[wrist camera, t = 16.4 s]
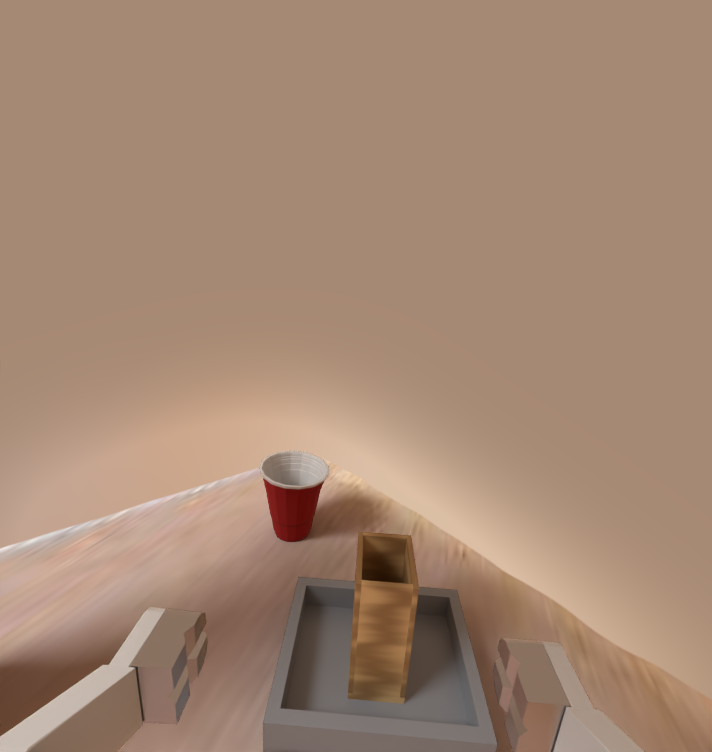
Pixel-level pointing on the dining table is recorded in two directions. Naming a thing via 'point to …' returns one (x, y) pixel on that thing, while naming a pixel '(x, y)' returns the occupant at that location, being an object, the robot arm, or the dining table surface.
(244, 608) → the dining table surface
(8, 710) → the dining table surface
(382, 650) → the wooden pencil holder
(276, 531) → the plastic cup
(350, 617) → the gray tray
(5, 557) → the dining table surface
